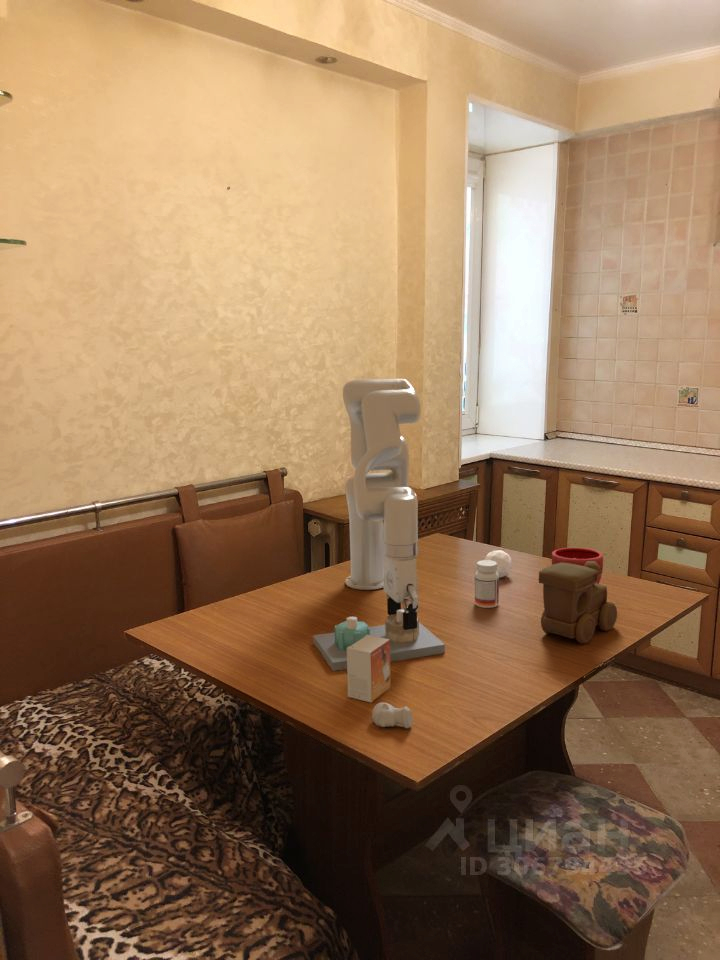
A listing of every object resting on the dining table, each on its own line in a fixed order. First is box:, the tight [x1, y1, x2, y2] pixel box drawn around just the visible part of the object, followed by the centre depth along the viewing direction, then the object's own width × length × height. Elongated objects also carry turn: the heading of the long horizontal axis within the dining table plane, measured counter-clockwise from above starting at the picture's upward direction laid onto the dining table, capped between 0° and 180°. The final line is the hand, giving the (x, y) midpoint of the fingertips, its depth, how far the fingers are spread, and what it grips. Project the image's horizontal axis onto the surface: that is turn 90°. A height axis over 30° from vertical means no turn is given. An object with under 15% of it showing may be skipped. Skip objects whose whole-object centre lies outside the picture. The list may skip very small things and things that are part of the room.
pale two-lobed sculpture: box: [371, 701, 414, 729], centre depth 146 cm, size 4×8×5 cm
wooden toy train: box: [538, 561, 618, 645], centre depth 185 cm, size 20×11×17 cm, turn 135°
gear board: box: [312, 608, 446, 672], centre depth 180 cm, size 16×26×8 cm, turn 109°
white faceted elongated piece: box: [484, 549, 513, 578], centre depth 230 cm, size 8×8×12 cm
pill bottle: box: [474, 559, 500, 609], centre depth 206 cm, size 6×6×11 cm
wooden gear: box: [384, 614, 420, 643], centre depth 182 cm, size 7×8×4 cm
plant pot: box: [551, 547, 604, 584], centre depth 210 cm, size 13×13×12 cm
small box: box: [346, 635, 392, 703], centre depth 158 cm, size 8×6×10 cm
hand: (401, 621), depth 181 cm, fingers open, 9 cm apart
